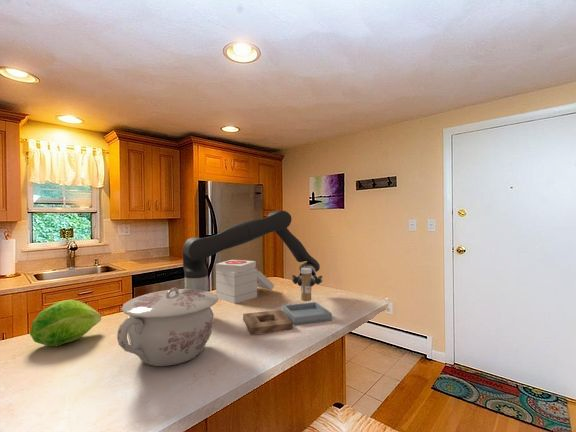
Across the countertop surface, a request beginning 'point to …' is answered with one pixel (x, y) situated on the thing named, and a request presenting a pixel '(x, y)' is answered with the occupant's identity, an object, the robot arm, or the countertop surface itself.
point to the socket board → (260, 327)
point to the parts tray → (306, 313)
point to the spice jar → (306, 284)
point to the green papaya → (63, 322)
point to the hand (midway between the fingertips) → (305, 283)
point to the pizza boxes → (239, 280)
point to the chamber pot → (167, 325)
